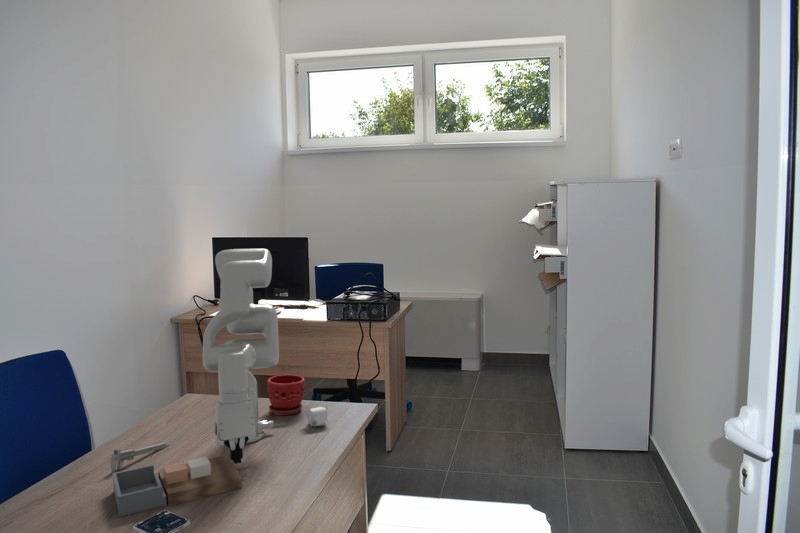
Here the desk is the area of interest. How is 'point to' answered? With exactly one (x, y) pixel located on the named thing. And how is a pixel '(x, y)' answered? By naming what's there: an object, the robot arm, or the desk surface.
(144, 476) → the box
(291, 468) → the desk surface
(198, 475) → the tile cream
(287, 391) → the plant pot
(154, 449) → the caliper
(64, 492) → the desk surface
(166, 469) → the tile terracotta
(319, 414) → the elephant figurine
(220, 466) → the plate
